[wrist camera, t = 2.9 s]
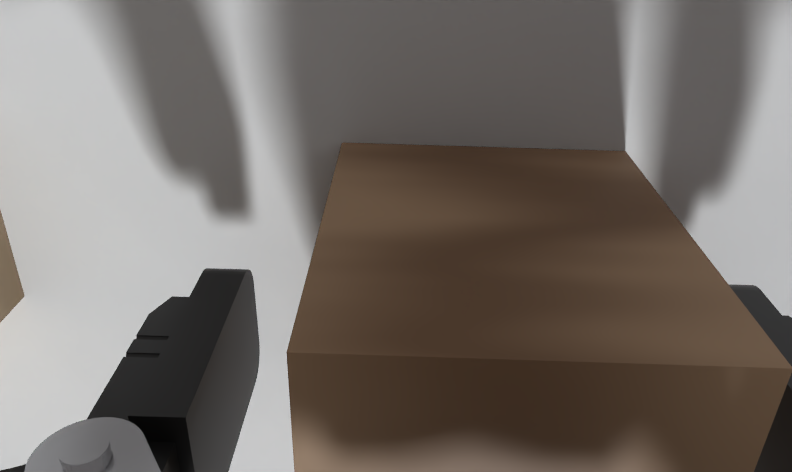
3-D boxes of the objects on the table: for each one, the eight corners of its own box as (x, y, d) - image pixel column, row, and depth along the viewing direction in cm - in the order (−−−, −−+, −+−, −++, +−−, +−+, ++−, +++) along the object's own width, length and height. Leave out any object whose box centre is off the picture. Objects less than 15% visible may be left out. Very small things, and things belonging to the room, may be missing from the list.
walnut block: (624, 150, 12) (792, 367, 7) (580, 372, 14) (680, 664, 9) (342, 141, 12) (286, 352, 7) (345, 364, 14) (306, 650, 9)
